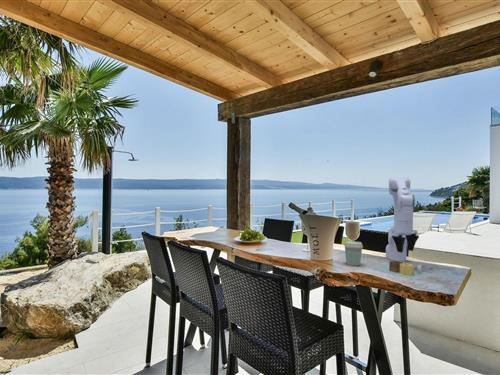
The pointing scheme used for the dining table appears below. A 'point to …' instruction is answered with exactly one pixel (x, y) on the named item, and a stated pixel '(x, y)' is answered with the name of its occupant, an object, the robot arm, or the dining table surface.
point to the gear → (394, 266)
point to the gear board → (416, 275)
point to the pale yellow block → (407, 269)
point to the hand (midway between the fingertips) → (405, 251)
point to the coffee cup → (353, 252)
